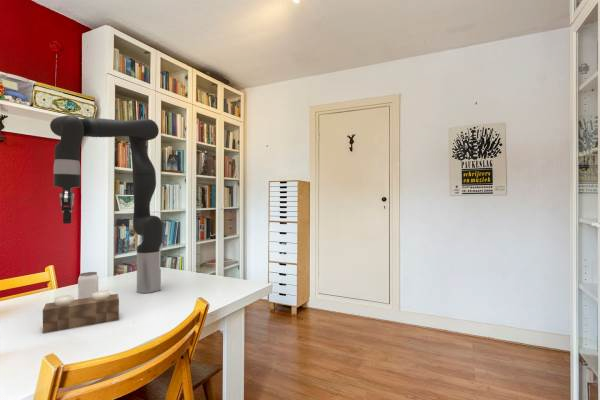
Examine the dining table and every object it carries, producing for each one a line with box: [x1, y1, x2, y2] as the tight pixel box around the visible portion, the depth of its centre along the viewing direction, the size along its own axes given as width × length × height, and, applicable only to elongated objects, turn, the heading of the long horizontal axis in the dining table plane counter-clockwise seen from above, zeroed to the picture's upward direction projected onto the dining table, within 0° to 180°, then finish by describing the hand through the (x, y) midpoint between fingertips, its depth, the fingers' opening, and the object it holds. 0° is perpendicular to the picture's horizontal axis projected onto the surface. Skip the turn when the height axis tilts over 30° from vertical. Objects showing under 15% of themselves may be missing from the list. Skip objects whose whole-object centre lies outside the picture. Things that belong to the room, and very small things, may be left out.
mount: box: [42, 293, 120, 334], centre depth 104 cm, size 20×7×7 cm, turn 122°
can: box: [77, 271, 99, 299], centre depth 122 cm, size 6×6×12 cm
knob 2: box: [92, 290, 111, 301], centre depth 107 cm, size 5×5×8 cm
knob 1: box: [53, 294, 75, 306], centre depth 102 cm, size 5×5×8 cm
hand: (67, 223), depth 111 cm, fingers closed
